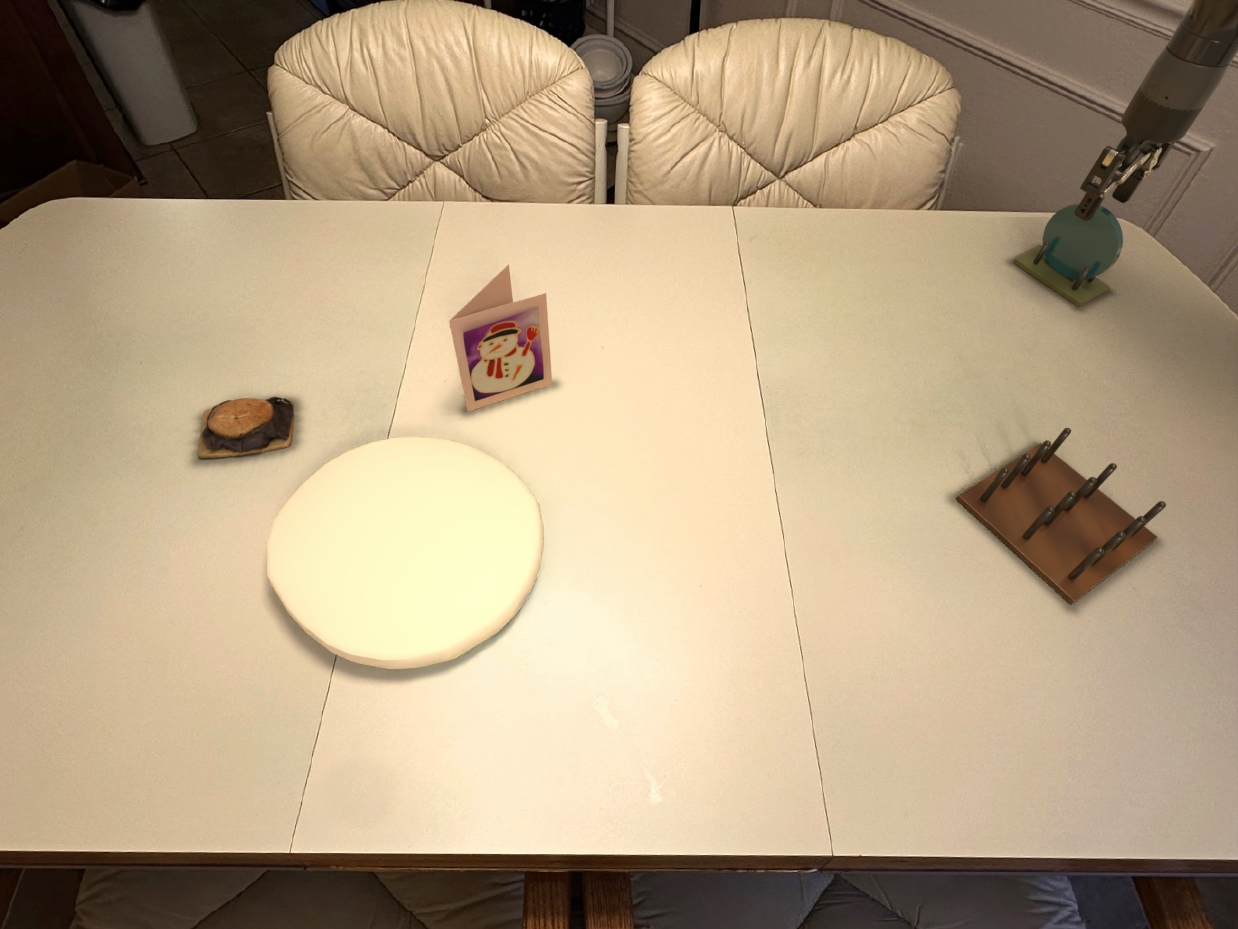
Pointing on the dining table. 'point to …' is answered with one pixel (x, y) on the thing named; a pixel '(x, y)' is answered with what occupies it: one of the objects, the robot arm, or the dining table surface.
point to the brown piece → (246, 427)
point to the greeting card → (501, 344)
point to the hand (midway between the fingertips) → (1100, 208)
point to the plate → (406, 551)
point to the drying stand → (1060, 277)
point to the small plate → (1082, 242)
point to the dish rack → (1058, 519)
